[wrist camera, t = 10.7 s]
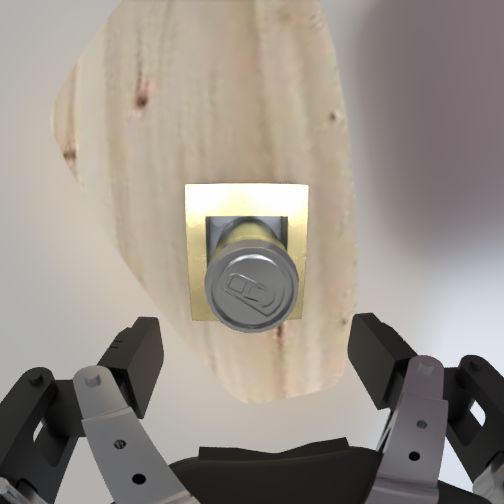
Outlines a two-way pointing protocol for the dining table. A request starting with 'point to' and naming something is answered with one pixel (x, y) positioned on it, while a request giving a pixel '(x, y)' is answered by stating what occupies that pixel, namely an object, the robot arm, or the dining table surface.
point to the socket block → (235, 207)
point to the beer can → (251, 278)
